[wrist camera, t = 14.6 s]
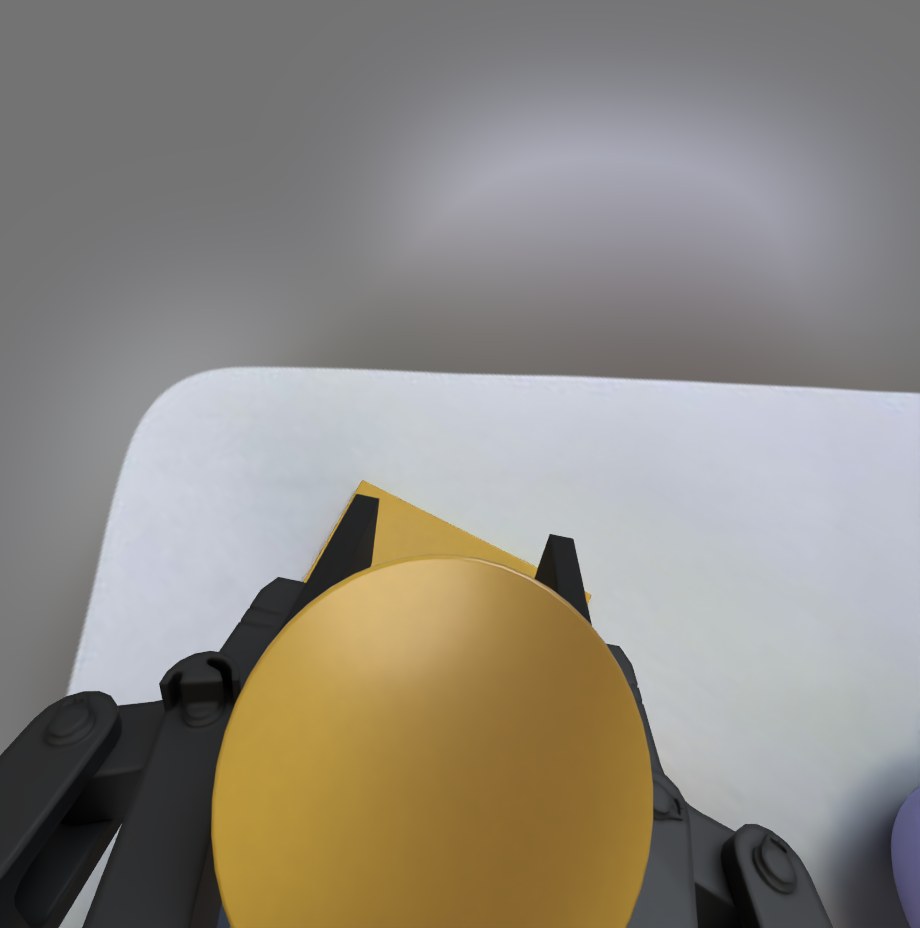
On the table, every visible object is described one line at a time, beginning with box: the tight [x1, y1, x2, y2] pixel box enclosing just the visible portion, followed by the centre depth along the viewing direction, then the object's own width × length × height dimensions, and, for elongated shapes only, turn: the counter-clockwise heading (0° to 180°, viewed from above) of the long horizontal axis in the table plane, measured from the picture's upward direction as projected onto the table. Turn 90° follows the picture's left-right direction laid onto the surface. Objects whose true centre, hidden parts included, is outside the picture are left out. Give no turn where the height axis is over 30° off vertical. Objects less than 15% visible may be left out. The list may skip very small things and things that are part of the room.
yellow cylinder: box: [211, 554, 653, 928], centre depth 11 cm, size 6×6×12 cm
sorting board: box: [217, 480, 591, 928], centre depth 25 cm, size 16×24×1 cm, turn 154°
